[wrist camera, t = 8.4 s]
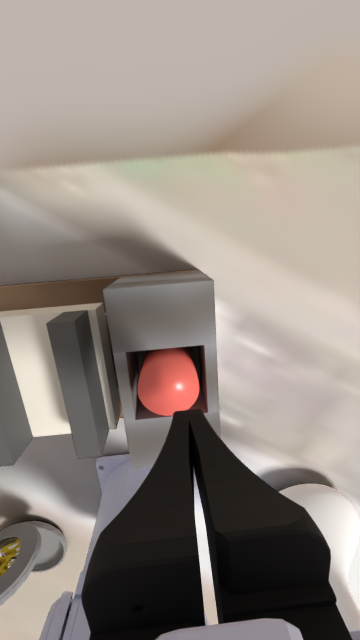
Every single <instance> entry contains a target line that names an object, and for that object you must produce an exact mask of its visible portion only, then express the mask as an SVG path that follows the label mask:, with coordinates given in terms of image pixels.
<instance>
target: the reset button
mask: <svg viewBox="0 0 360 640" xmlns="http://www.w3.org/2000/svg"><path fill="white" fill-rule="evenodd" d="M137 389H138V396H139V398H140V400H141V402H142V404H143V405H144V406H145V407H146V408H147V409H148V410H150V411H152V412H153V413H156V414H159V415H164V416H172V415H173V413H174V412H175V411H183V410H188V409H189V408H190V407H191V406H192V405H193V404H194V403H195V401H196V399H197V397H198V394H199V381H198V377H197V373H196V368H195V364H194V360H193V356H192V352H191V350H190V348H189V347H188V346H187V347H176V348H166V349H155V350H145V353H144V357H143V362H142V367H141V372H140V376H139V381H138V388H137Z"/></svg>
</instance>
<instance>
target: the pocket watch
mask: <svg viewBox="0 0 360 640" xmlns="http://www.w3.org/2000/svg"><path fill="white" fill-rule="evenodd" d="M66 550H67V542H66V539H65V537H64V535H63V534H62V533H61V531H60V530H58V529H57V528H55V527H54V526H52V525H51V524H48V523H44V522H39V521H27V522H22V523H16V524H13V525H10V526H8V527H6V528H4V529H2V530H0V553H1V555H2V557H0V605H2V604H3V603H4V602H5V601H6V600H7V599H9V598H10V597H11V596H12V595H13V594H14V593H15V592H16V591H17V590H18V588H19V587H20V586H21V585H22V584H23V582H24V581H25V580H26V579H27V577H28V576H29V574H30V573H31V572H43V571H47V570H50V569H53V568H55V567H56V566H57V565H59V564H60V563H61V562H62V560H63V559H64V557H65V554H66ZM8 564H9V565H8ZM10 565H11V566H10ZM8 566H10V567H9V568H8Z"/></svg>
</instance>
